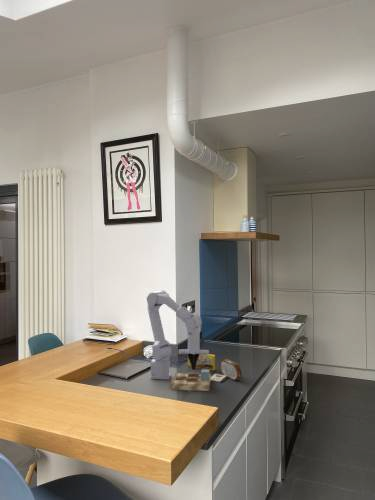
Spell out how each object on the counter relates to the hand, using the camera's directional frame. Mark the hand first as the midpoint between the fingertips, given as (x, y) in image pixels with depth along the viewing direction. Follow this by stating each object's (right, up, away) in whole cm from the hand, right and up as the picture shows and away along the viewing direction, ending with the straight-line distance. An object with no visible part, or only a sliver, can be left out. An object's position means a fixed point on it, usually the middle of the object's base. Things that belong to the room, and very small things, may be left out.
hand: (193, 369), depth 181 cm
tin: (+19, -8, +10) cm, 23 cm away
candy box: (+5, -8, +26) cm, 27 cm away
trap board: (-1, -8, 0) cm, 8 cm away
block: (+6, -5, -1) cm, 7 cm away
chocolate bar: (+14, -8, +13) cm, 21 cm away
